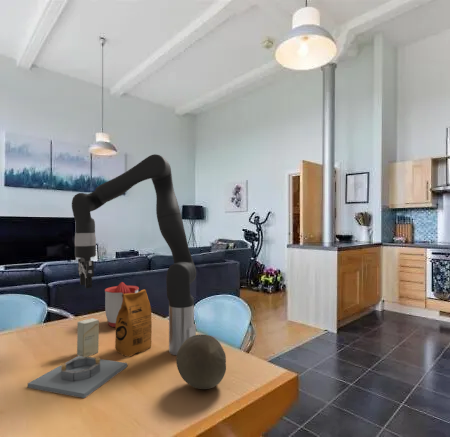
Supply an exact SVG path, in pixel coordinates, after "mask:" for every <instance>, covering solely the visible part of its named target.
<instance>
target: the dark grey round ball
mask: <svg viewBox="0 0 450 437" xmlns="http://www.w3.org/2000/svg"><path fill="white" fill-rule="evenodd" d="M175 359H176V362H175V363H176V368H177V370H178V373H179V375H180V377H181V378H182V380H183V381H184V382H185V383H186V384H188V385H189V386H191V387H192V388H195V389H197V390H199V389H200V390H209V389H213V388H215V387H216V386H218V385H219V384H221V382H222V380H223V379H224V377H225V374H226V370H227V356H226V352H225V350H224V348H223V346H222V344H221V343H220V341H219V340H218V339H216V338H215V337H214V336H213V335H210V334H196V335H194V336H191V337H189V338H188V339H187V340H185V342H184V343H183V344H182V345H181V347H180V348H179V350H178V353H177V355H176V358H175Z"/></svg>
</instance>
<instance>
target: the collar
mask: <svg viewBox="0 0 450 437" xmlns="http://www.w3.org/2000/svg"><path fill="white" fill-rule="evenodd" d="M72 359H73V358H72ZM72 359H70V360H68V361H66V362H64V363H65V364H64V363H62V364H61V365H60V366H61V379H62V380H66V381H72V382H75V381H80V380H84V379H89V378H91V377H93V376H94V375H96V374H97V373H99V372H100V359H101V358H100V357H99V356H97V357H93V356H87V357H82V358H77V359H73V360H72ZM83 366H90V368H88V369H84V370H79V371H71V370H72V369H74V368H78V367H83Z"/></svg>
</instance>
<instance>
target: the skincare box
mask: <svg viewBox="0 0 450 437" xmlns="http://www.w3.org/2000/svg"><path fill="white" fill-rule="evenodd" d="M99 323H100V321H99V319H97V318H94V317H91V318H87V319H84V320H80V321H77V326H76V327H77V329H76V330H77V332H76V333H77V336H76V337H77V338H76V339H77V341H76V342H77V343H76V345H77V346H76V355H77V356H82V357H91V356H92V355H96V354H98V353H99V332H100V329H99V326H100V325H99Z"/></svg>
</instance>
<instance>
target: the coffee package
mask: <svg viewBox="0 0 450 437" xmlns="http://www.w3.org/2000/svg"><path fill="white" fill-rule="evenodd" d="M122 297H123V300H124V301H123V302H122V305H121V309H120V310H119V312H118V315H117V318H116V327H115V341H114V344H115V345H114V349H115V351H116V352H117V353H119V354H120V355H122V356H126V357H131V356H133V355H135V354H137V353H144V352H145V351H147V350H148V349H150V348H151V347H152V327H153V326H152V325H153V324H152V322H153V321H152V306H151V303H150V300H149V296H148V294H147V290H146V289H141V290H140V291H138V293H127V294H122Z"/></svg>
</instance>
